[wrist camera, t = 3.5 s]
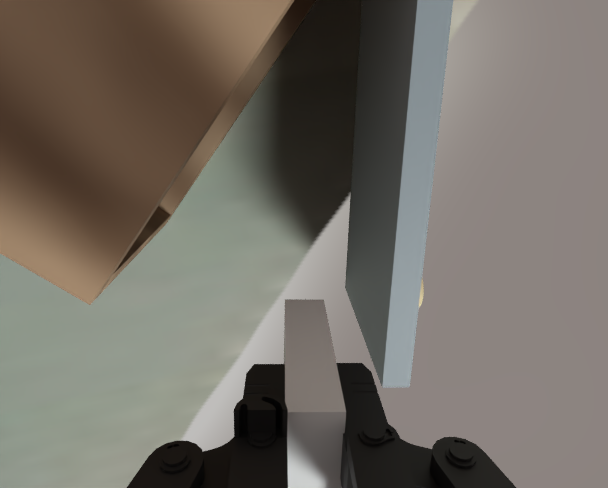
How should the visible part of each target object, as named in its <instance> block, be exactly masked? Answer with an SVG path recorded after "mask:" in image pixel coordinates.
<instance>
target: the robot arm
mask: <svg viewBox="0 0 608 488" xmlns="http://www.w3.org/2000/svg"><path fill="white" fill-rule="evenodd" d="M234 433H235V434H234V435H235V436H234V438H233V439H232V440H230V441H229V442H228V443H226V444H225V445H223V446H221V447H218V448H215V449H212V450H208V451H204V452H202V449H201V448H200V447H198V446H197V444H194V443H192V442H189V441H174V442H170V443H166V444H164V445H162V446H161V447H159V448H157V449H156V450H155V451H154V452H153V453H152V454H151V455H150V456H149V457H148V458H147V460H146V461H145V463H144V464H143V465H142V467H141V468H140V470H139V471H138V473H137V474H136V475H135V477H134V478H133V480H132V481H131V482H130V484H129V485H128V487H127V488H341V487H342V488H516V487H515V486H514V485H513V483H512V482H511V481H510V480H509V479H508V478H507V477H506V476H505V475H504V473H503V472H502V471H501V470H500V469H499V468H498V467H497V466H496V465H495V464H494V462H493V461H492V460H491V459H490V458H489V457H488V456H487V454H486V453H485V452H484V451H483V450H482V449H480V448H479V447H478V446H477V445H476V444H474V443H472V442H470V441H468V440H466V439H462V438H457V437H444V438H442V439H440V440H437V441H436V443H435V444H434V445H433V448H432V449H428V448H424V447H420V446H416V445H413V444H410V443H407V442H405V441H403V440H402V439H400V437H399V435H398V433H397V432H396V430H395V429H394V428H393V427H391V426H390V425H389V424H388V422H387V419H386V416H385V413H384V410H383V407H382V404H381V401H380V398H379V395H378V393H377V388H376V385H375V382H374V379H373V376H372V373H371V371H369V369H367V368H366V367H365V366H364V365H363V364H362V363H336V359H335V354H334V349H333V344H332V339H331V334H330V329H329V324H328V319H327V314H326V309H325V304H324V300H285V338H284V364H254V365H253V366H252V368H251V369H250V370H249V371H248V373H247V374H246V381H245V389H244V395H243V399H242V400H241V401H239V402H238V403H237V405H236V407H235V409H234Z"/></svg>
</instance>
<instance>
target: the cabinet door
mask: <svg viewBox="0 0 608 488" xmlns="http://www.w3.org/2000/svg"><path fill="white" fill-rule="evenodd" d="M452 6H453V0H362V9H361V27H360V44H359V61H358V78H357V96H356V113H355V130H354V147H353V164H352V182H351V199H350V217H349V233H348V251H347V269H346V286H345V288H346V291H347V293H348V296H349V299H350V301H351V304H352V307H353V310H354V312H355V315H356V318H357V321H358V323H359V326H360V329H361V331H362V334H363V337H364V339H365V342H366V345H367V348H368V350H369V353H370V356H371V358H372V361H373V364H374V367H375V369H376V372H377V375H378V377H379V380H380V383H381V385H382V387H410V379H411V370H412V361H413V352H414V344H415V335H416V326H417V317H418V308H419V307H420V306H421V304H422V300H423V292H424V290H423V289H424V288H423V279H422V272H423V263H424V254H425V245H426V237H427V228H428V219H429V210H430V201H431V192H432V184H433V175H434V165H435V156H436V148H437V139H438V130H439V121H440V112H441V104H442V95H443V86H444V76H445V68H446V59H447V50H448V41H449V32H450V24H451V15H452Z"/></svg>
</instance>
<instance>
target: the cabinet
mask: <svg viewBox="0 0 608 488" xmlns="http://www.w3.org/2000/svg"><path fill="white" fill-rule="evenodd" d="M315 2H316V0H0V253H1V254H2V255H4V256H6V257H8V258H9V259H11V260H13V261H15V262H16V263H18V264H20V265H21V266H23V267H25V268H27V269H28V270H30V271H32V272H34V273H35V274H37V275H39V276H41V277H42V278H44V279H46V280H47V281H49V282H51V283H53V284H54V285H56V286H58V287H60V288H61V289H63V290H65V291H67V292H68V293H70V294H72V295H73V296H75V297H77V298H79V299H80V300H82V301H84V302H86V303H87V304H89V305H90V304H91V303H92V302H93V301H94V300H95V299H96V298H97V297H98V296H99V295H100V294H101V293H102V292H103V290H104V289H105V288H106V287H107V286H108V285H109V284H110V283H111V282H112V281H113V280H114V279H115V278H116V277H117V276H118V274H119V273H120V272H121V271H122V270H123V269H124V268H125V267H126V266H127V265H128V264H129V263H130V262H131V261H132V260H133V259H134V257H135V256H136V255H137V254H138V253H139V252H140V251H141V250H142V249H143V248H144V247H145V246H146V245H147V244H148V243H149V242H150V240H151V239H152V238H153V237H154V236H155V235H156V234H157V233H158V232H159V231H160V230H161V229H162V228H163V227H164V226H165V225H166V223H167V222H168V220H169V219H170V217H171V216H172V214H173V213H174V211H175V210H176V208H177V207H178V205H179V204H180V202H181V201H182V200H183V198H184V197H185V195H186V194H187V192H188V191H189V189H190V188H191V186H192V185H193V183H194V182H195V180H196V179H197V177H198V176H199V174H200V173H201V171H202V170H203V168H204V167H205V165H206V164H207V162H208V161H209V159H210V158H211V156H212V155H213V153H214V152H215V150H216V149H217V148H218V146H219V145H220V143H221V142H222V140H223V139H224V137H225V136H226V134H227V133H228V131H229V130H230V128H231V127H232V125H233V124H234V122H235V121H236V119H237V118H238V116H239V115H240V113H241V112H242V110H243V109H244V107H245V106H246V104H247V103H248V101H249V100H250V98H251V97H252V96H253V94H254V93H255V91H256V90H257V88H258V87H259V85H260V84H261V82H262V81H263V79H264V78H265V76H266V75H267V73H268V72H269V70H270V69H271V67H272V66H273V64H274V63H275V61H276V60H277V58H278V57H279V55H280V54H281V52H282V51H283V49H284V48H285V46H286V45H287V43H288V42H289V41H290V39H291V38H292V36H293V35H294V33H295V32H296V30H297V29H298V27H299V26H300V24H301V23H302V21H303V20H304V18H305V17H306V15H307V14H308V12H309V11H310V9H311V8H312V6H313V5H314V3H315Z"/></svg>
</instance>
